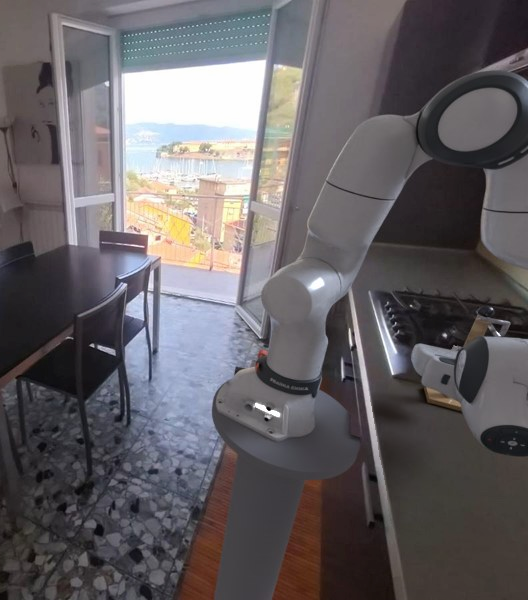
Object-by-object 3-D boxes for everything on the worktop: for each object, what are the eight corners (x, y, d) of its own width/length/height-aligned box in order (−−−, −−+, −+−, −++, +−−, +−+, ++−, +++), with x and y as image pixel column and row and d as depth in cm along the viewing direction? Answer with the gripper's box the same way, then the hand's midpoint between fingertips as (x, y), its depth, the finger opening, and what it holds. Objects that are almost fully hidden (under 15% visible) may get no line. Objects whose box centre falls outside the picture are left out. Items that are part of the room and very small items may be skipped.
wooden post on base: (440, 389, 79) (471, 319, 72) (436, 377, 83) (465, 310, 76) (478, 399, 76) (515, 327, 69) (473, 386, 80) (507, 317, 73)
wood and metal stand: (433, 427, 79) (479, 327, 69) (423, 388, 91) (461, 298, 81) (481, 441, 76) (537, 337, 65) (464, 399, 88) (509, 305, 77)
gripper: (573, 390, 60) (540, 351, 71) (422, 356, 70) (414, 327, 80) (554, 419, 63) (526, 377, 74) (412, 382, 72) (405, 350, 83)
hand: (466, 350), depth 77 cm, fingers closed on wooden post on base, 2 cm apart
